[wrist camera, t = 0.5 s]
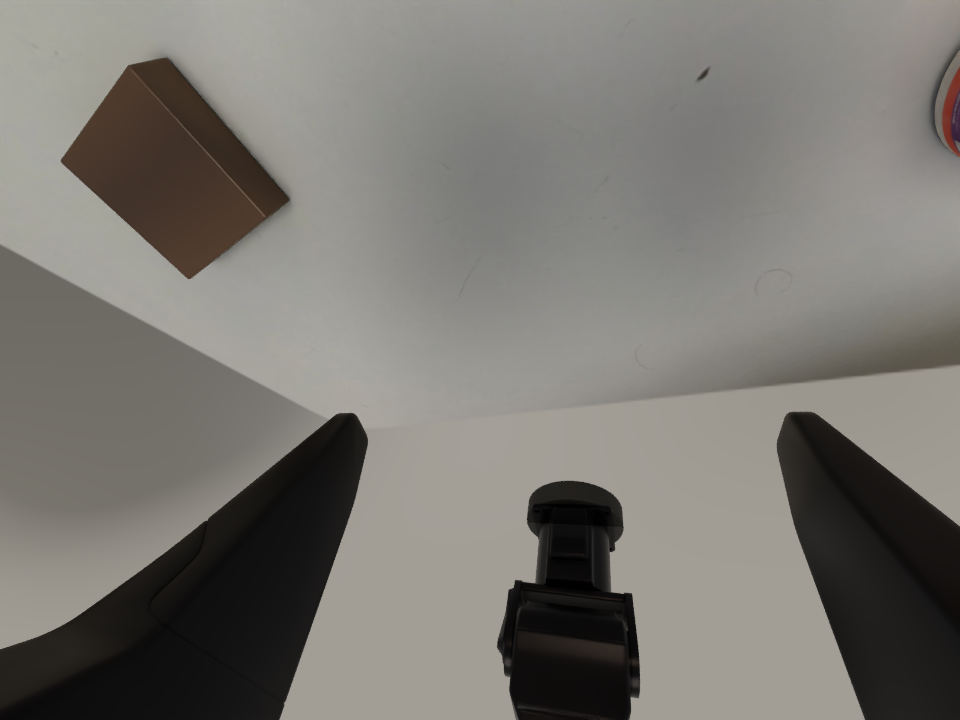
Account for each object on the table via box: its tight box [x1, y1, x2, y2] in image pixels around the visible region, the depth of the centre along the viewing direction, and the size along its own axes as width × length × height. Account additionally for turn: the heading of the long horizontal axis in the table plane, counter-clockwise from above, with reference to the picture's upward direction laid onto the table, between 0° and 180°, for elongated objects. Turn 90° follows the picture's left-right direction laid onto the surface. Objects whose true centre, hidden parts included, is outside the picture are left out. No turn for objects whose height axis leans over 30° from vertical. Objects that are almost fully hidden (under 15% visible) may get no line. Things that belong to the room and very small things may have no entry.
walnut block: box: [61, 58, 289, 279], centre depth 20 cm, size 6×6×2 cm
